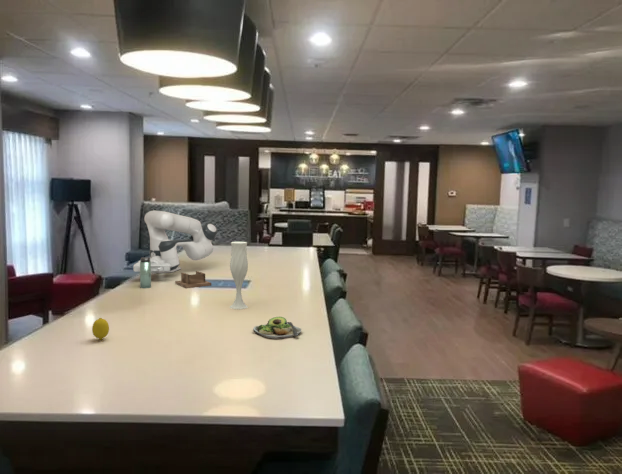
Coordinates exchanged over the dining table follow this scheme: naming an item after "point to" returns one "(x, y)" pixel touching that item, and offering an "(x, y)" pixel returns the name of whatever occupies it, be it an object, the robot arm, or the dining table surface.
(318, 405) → the dining table surface
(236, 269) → the vase
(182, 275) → the u rest
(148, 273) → the flask
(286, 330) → the salad plate
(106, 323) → the lemon
